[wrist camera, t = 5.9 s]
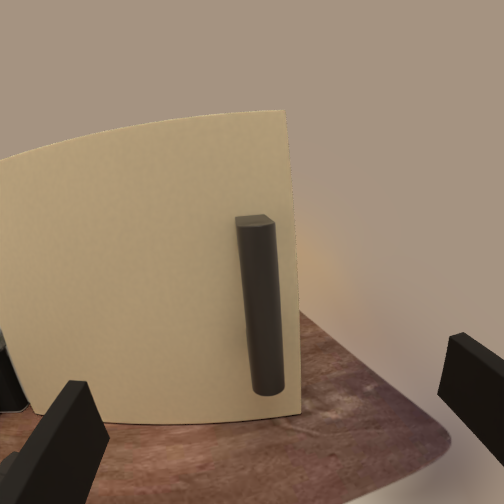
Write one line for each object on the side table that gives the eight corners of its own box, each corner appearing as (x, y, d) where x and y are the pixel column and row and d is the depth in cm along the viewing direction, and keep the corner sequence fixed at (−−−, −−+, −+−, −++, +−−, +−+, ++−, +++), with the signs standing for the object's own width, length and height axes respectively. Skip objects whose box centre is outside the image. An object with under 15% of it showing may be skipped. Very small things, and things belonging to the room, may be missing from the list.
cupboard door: (316, 461, 19) (305, 83, 14) (9, 449, 18) (-73, 170, 13) (299, 407, 26) (283, 112, 21) (38, 408, 25) (-20, 169, 20)
